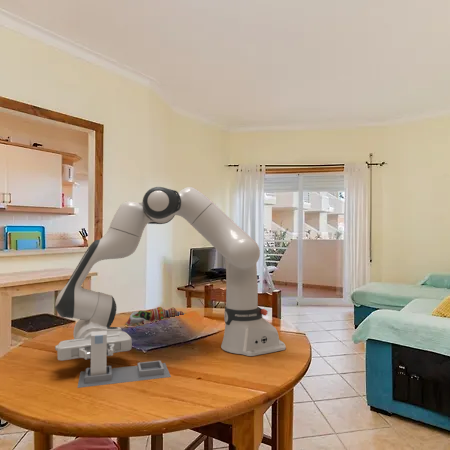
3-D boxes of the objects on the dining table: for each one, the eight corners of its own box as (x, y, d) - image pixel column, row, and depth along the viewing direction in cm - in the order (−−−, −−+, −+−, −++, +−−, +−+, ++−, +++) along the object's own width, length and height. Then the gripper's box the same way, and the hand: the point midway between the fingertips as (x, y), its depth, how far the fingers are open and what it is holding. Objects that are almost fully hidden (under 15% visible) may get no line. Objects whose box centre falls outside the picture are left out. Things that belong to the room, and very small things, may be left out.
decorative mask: (124, 303, 167) (188, 300, 176) (123, 319, 167) (188, 316, 176) (125, 315, 145) (199, 311, 154) (125, 333, 145) (199, 329, 153)
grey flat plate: (165, 364, 111) (165, 357, 111) (171, 378, 100) (171, 370, 100) (80, 373, 103) (80, 365, 103) (77, 390, 93) (77, 381, 93)
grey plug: (106, 369, 102) (106, 330, 102) (106, 376, 98) (106, 335, 98) (91, 371, 101) (91, 331, 101) (90, 378, 97) (90, 336, 97)
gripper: (54, 334, 106) (57, 348, 94) (125, 326, 116) (136, 338, 104) (54, 356, 106) (57, 373, 94) (125, 346, 116) (136, 360, 104)
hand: (99, 354), depth 99 cm, fingers closed on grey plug, 4 cm apart
